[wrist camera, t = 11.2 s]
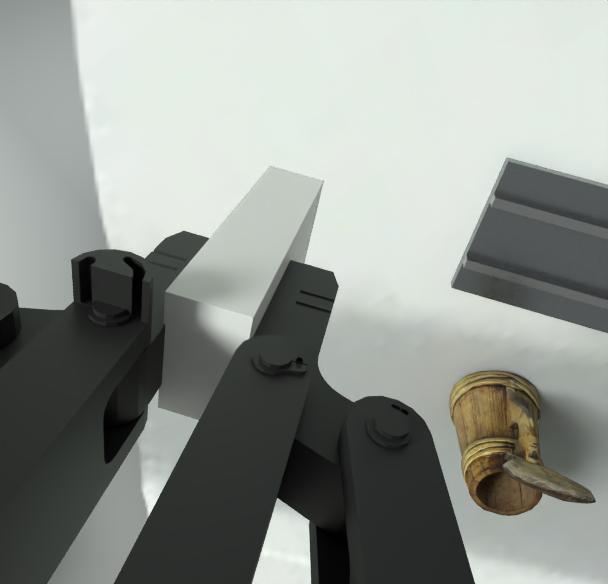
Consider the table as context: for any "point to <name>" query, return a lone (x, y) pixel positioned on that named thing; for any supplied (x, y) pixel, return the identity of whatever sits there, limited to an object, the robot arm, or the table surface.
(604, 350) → the table surface
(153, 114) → the table surface
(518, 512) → the wooden mug
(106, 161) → the table surface
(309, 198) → the robot arm
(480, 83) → the table surface
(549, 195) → the dark grey base rail
